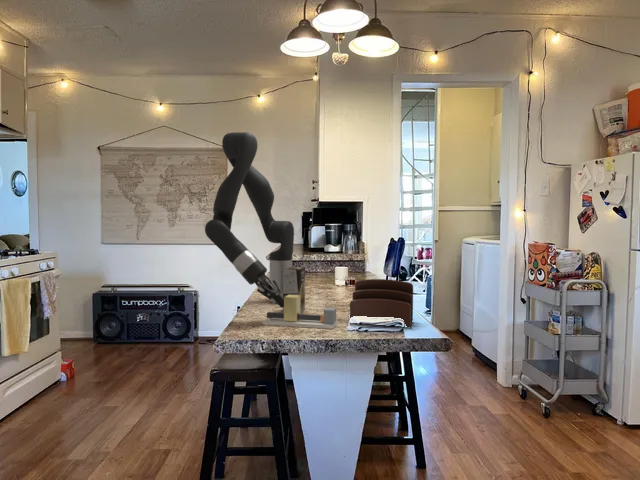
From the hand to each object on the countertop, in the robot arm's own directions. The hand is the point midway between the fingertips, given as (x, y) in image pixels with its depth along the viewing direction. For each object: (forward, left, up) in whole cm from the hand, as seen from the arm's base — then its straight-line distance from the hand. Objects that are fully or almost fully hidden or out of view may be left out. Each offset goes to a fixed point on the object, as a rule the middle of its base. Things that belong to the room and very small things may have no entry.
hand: (284, 305), depth 148 cm
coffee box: (-19, -2, -6) cm, 20 cm away
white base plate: (0, +5, -6) cm, 8 cm away
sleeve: (0, +3, -4) cm, 5 cm away
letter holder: (-9, +31, -6) cm, 33 cm away
